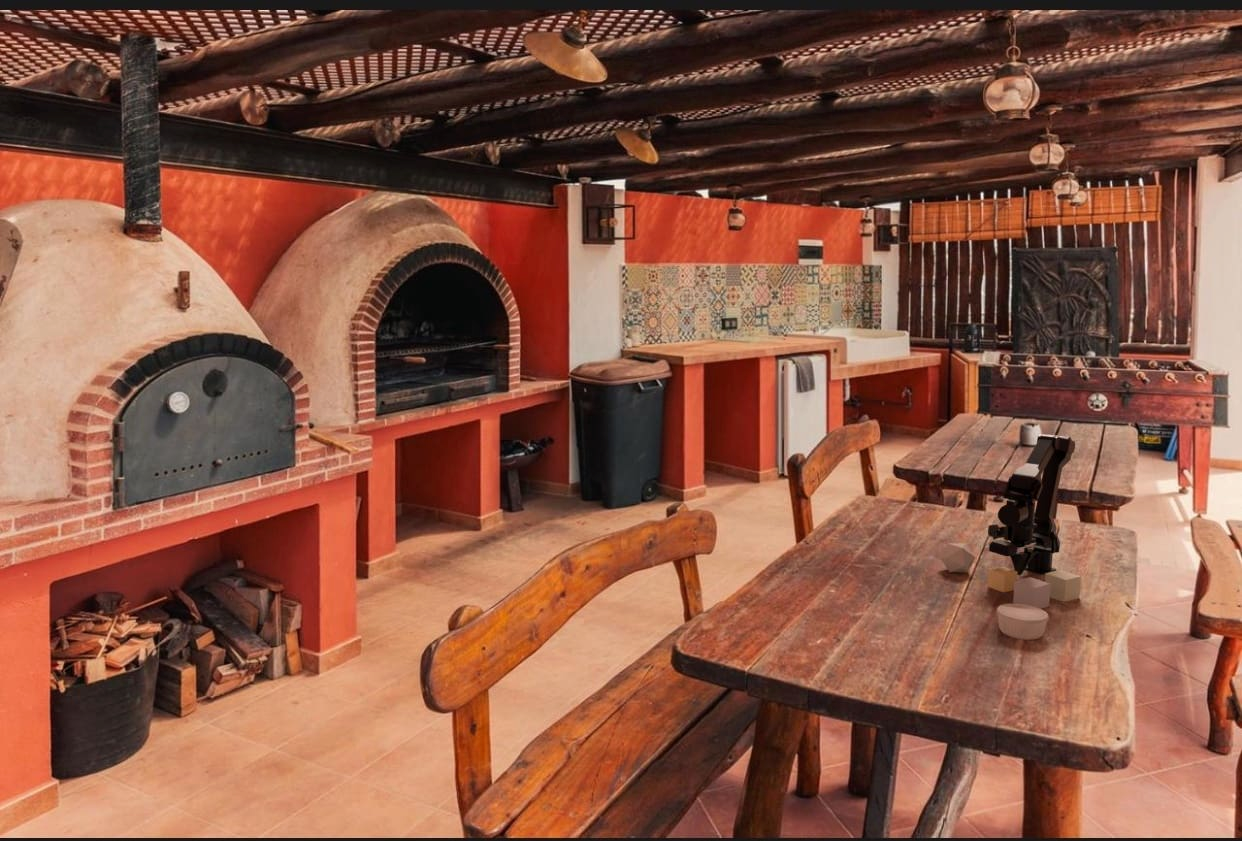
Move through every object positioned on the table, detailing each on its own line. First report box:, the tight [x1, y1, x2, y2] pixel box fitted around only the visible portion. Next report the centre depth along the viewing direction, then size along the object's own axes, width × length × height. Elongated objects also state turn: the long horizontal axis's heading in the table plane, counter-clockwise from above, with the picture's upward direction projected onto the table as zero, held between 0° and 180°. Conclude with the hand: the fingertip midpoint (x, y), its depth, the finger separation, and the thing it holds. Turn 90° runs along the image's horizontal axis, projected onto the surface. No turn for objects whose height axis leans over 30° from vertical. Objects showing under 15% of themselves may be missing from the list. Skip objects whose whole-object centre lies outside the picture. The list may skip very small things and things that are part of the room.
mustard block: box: [987, 566, 1018, 593], centre depth 244 cm, size 5×5×5 cm
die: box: [940, 542, 976, 573], centre depth 258 cm, size 8×9×10 cm
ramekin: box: [996, 603, 1049, 641], centre depth 213 cm, size 11×11×5 cm
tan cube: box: [1044, 569, 1082, 603], centre depth 237 cm, size 6×6×6 cm
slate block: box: [1012, 576, 1051, 610], centre depth 231 cm, size 6×6×6 cm
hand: (1018, 574), depth 247 cm, fingers closed
